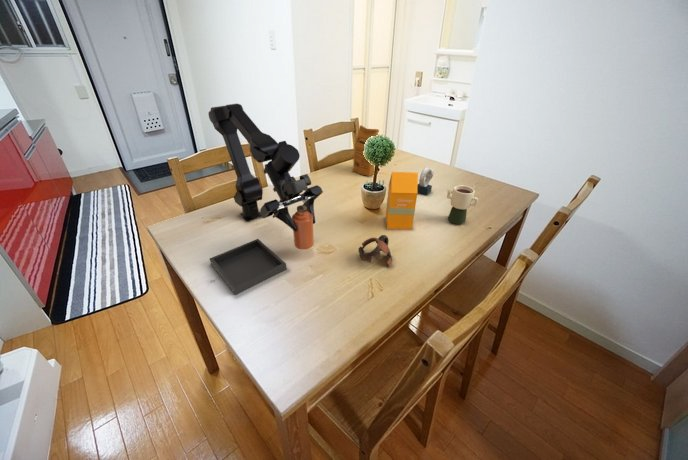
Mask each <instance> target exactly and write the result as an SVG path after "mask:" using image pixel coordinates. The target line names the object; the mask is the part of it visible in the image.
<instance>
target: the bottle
mask: <svg viewBox="0 0 688 460" xmlns="http://www.w3.org/2000/svg"><path fill="white" fill-rule="evenodd" d="M291 218H292V220H293V221H294V223H295V225H296V227H297V231H296V232H295V231H294V230H293V229H292V235H293V245H294V247H295V248H296V249H298V250H309V249H311V248H312V247H313V246H315V233H314V232H315V231H314V224H313V215H312V214H311V213H309V212H308V211H307V207H306V206H304V205H303V204H301V205H297V206H296V211H295V212H294V213H293V214H292V215H291Z"/></svg>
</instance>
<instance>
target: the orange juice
mask: <svg viewBox="0 0 688 460" xmlns="http://www.w3.org/2000/svg"><path fill="white" fill-rule="evenodd" d="M418 181H419V172H409V171H408V172H407V171H391V174H390V178H389V183H388V191H387V198H386V209H385V210H386V211H385V225H386V229H387V230H413V229H412V228H413V223H414V218H415V211H416V206H417V205H416V204H417V198H418V194H419V193H418V192H417V187H418V184H419V183H418Z"/></svg>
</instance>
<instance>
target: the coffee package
mask: <svg viewBox="0 0 688 460" xmlns="http://www.w3.org/2000/svg"><path fill="white" fill-rule="evenodd" d="M379 132H380V130H379V129H378V128H367V127H365V126H363V125H362V124H360V125H359V128H358V131H357V134H356V135H357V136H356V138H355V142H354V149H353V155H352V156H353V157H352V158H353V165H352V166H353V169H352V171H353V172H355V173H358V174H359V175H362V176H367V177H371V176H372V175H374V174H375V173H374V166H373V165H371V164H370V163H369V162H368V161H367V160H366V159H365V157H364V155H363V151H364V144H365V142H366V140H367V139H368V138H369V137H371V136H376V135H378V136H379ZM373 173H374V174H373Z"/></svg>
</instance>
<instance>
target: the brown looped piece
mask: <svg viewBox="0 0 688 460" xmlns="http://www.w3.org/2000/svg"><path fill="white" fill-rule="evenodd" d="M389 241H390V239H389V237H388V236H387V235H386V234H381V235H379V237H370V238H367V239H365V240H364V241H363V242H362V243H361V246H359V248H358V255H359V259H360V260H361V261H363V262H368V263H370V264H372V260H373V258H374V259H378V260H381V259H382V258H383V257H382V255H381V252H382V253H383V254H385V255H386V257H388V259H387V261H386V264H387V267H388V268H390V267H391V266H392V264H393V258H392V257H393V256H392V254H391V249H390V247H389ZM374 242H375V244H376V246H375V248H373V249H372V250H371V251H369V252H365V250H364V248H366V246H368V245H370V244H372V243H374Z"/></svg>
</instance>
